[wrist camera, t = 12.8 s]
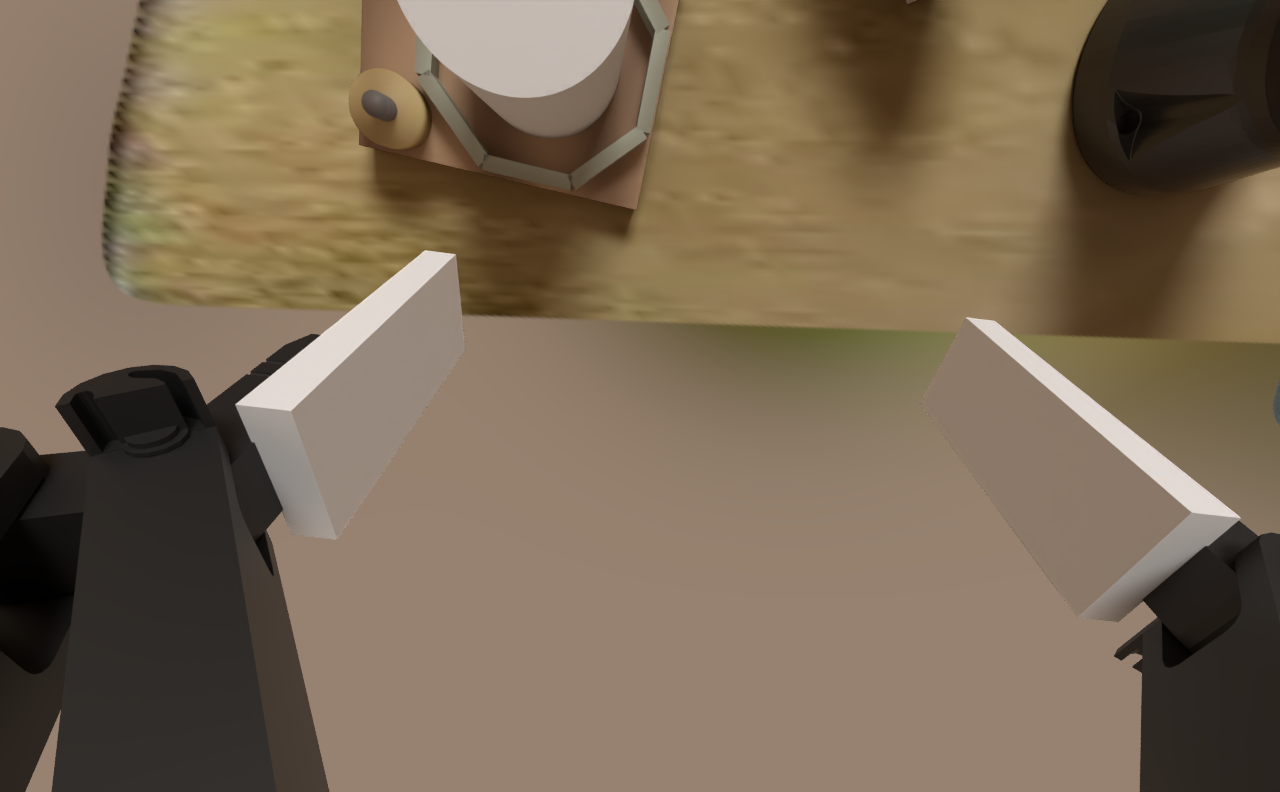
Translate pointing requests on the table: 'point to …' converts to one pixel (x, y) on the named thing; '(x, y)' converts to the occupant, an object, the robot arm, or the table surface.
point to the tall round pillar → (530, 55)
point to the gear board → (481, 139)
